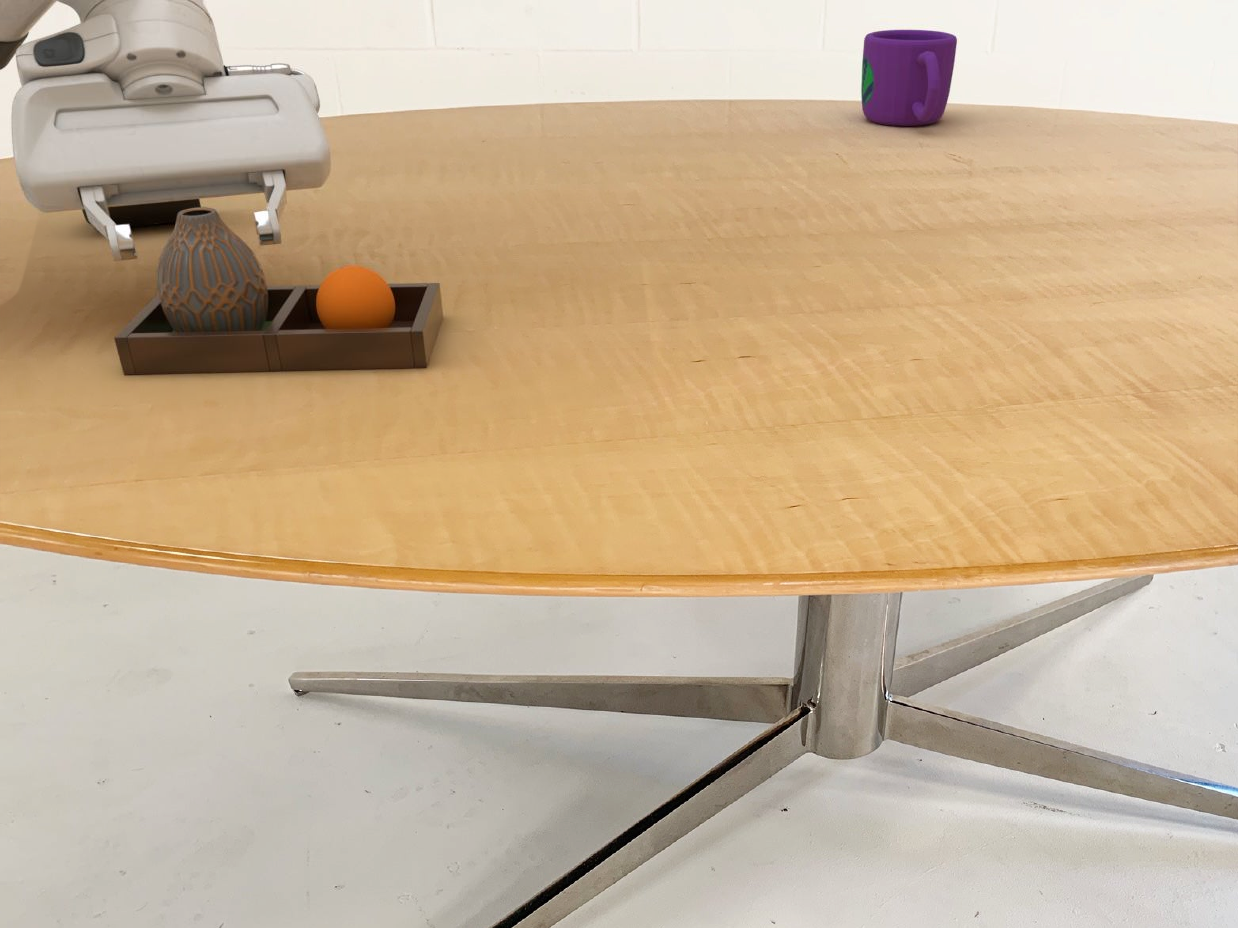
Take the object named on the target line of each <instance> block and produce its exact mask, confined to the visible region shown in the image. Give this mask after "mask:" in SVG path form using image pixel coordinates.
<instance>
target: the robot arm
mask: <svg viewBox="0 0 1238 928" xmlns="http://www.w3.org/2000/svg"><path fill="white" fill-rule="evenodd" d="M56 2H58V3H60V4H64V5H66V6H68V7H70V8H71V9H73V11H74V12H76V14H77V16H78V17H79V22H80V23H78V24H76V25H73V26H71V27H69V28H66V29H64V30H61V31H58V32H55V33H52V34H49V35H46V36H43V37H41V38H36V39H34V40H31V41H28V42H25V41H26V39H27V38H28V36H29V33H30V31H31V30H32V29H33V28H34V27H35V26H36V24H38V22H40V21H41V19H42V18H43V17H44V16H45V15H46V14H47V12H49V10H50V9H51V8H52V7H53V6H54V5H55V4H56ZM24 42H25V43H24ZM14 56H15V61H16V68H17V74H18V78H19V82H20V85H21V87H20V88H19V89H17V91H16V94H15V95H14V97H13V100H12V104H11V117H10V118H11V119H10V120H11V121H10V123H11V125H10V126H11V141H12V142H11V144H12V153H13V161H14V167H15V171H16V172H15V173H16V177H17V179H18V180H17V181H18V183H19V186H20V188H21V191H22V193H23V195H24V198H25V200H26V201H27V203H29V204H30V205H32V206H33V207H34V208H35V209H36V210H38V211H39V212H41V213H43V214H44V213H45V214H48V213H49V214H50V213H51V214H52V213H60V212H70V211H82V209H85V211H86V214H87V217H88V220H89V222H90V223H91V224H92V226H93V228H94V227H95V228H96V229H97V230H96V231H98V232H99V233H100V234H101V235H102V236H103V237H104V238H105V239H106V240H107V241H108V243H109V247H110V251H111V254H112V258H113V261H114V262H120V261H130V260H138V253H137V250H136V245H135V240H134V236H133V233H132V229H131V227H130V225H129V224H124V225H116V224H115V223H114V222H113V220H112V219H111V218H110V215H109V210H108V207H115V206H126V205H137V204H147V203H158V202H169V201H180V200H191V199H199V200H200V199H201V200H203V199H211V198H223V197H232V196H245V195H254V194H255V195H256V194H264V198H265V201H266V203H267V206H266V208H265V210H259V211H253V218H254V227H255V232H256V235H257V240H258V244H259V247H262V246H273V245H282V234H281V227H280V223H279V222H280V219H281V217H282V215H283V212H284V210H285V208H286V206H287V204H288V203H287V202H288V197H287V191H289V192H290V191H298V190H310V189H311V190H312V189H319V188H321V187H323V186H324V185H325V183H326V182H327V180H328V179H329V177H330V175H331V170H332V169H331V168H332V156H331V149H330V145H329V141H328V138H327V137H328V136H327V134H326V131H325V129H324V126H323V123H322V121H321V119H320V116H319V112H320V108H321V100H320V97H319V92H318V89H317V85H316V83H315V81H314V80H313V78H312V77H311V75H310V74H307V73H306V72H304V71H302V70H299V69H296V68H291V66H290V64H289V63H283V62H281V63H280V62H279V63H271V64H267V65H266V64H265V65H254V64H253V65H252V64H244V65H227V66H226V65H225V64H224V60H223V56H222V53H221V49H220V44H219V39H218V35H217V32H216V27H215V24H214V21H213V18H212V16H211V14H210V12H209V11H208V9H207V7H206V6H205V4H204V1H203V0H0V71H1V70H3V69H5V68H6V67H7V66H8V65H9V63H10V62H11V61H12V59H13V58H14ZM91 224H90V225H91ZM95 228H94V229H95Z"/></svg>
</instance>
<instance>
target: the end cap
mask: <svg viewBox="0 0 1238 928" xmlns="http://www.w3.org/2000/svg"><path fill="white" fill-rule="evenodd" d="M198 207H202V205H201V200H200V199H191V200H180V201H169V202H158V203H147V204H137V205H126V206H115V207H108V210H109V215H110V218H111V219H112V220H113V222H114V223H115V224H116V225H124V224H129V225H130V228H131V227H140V226H152V225H163V224H173V223H176V219H177V215H178V213H179V212H180V211H182V210H185V209H190V208H198ZM81 211H82V214H83V217H84V220H85V222H86V223H87V224H88V225H90V226H91V225H92V224H91V223H90V222H89V220H88V217H87V214H86V211H85V209H82V210H81ZM92 226H93V225H92ZM93 228H94V230H95V231H98V230H97V229H96V228H95V227H94V226H93Z"/></svg>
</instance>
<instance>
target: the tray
mask: <svg viewBox="0 0 1238 928" xmlns="http://www.w3.org/2000/svg"><path fill="white" fill-rule="evenodd" d="M387 284H388V286H389V287H390V289H391V291H392V293H393V296H394V301H395V314H394V319H393V322H392V324H391V326H390V328H359V329H325V327H324V326H323V325H322V323H321V321H320V319H319V316H318V313H317V307H316V298H317V293H318V290H319V287H320V285H321V284H313V285H311V284H309V285H308V284H307V285H270V286H268V285H267V291H268V311H267V317H266V321H265V324H264V326H263V328H262V330H261V331H220V332H175V330H174V329H173V328H172V326H171V325H170V323H169V322H168V320H167V318H166V316H165V314H164V312H163V309H162V306H161V303H160V299H159V295H158V293H157V294H156V295H155V296H154V297H153V298H152V299H151V300H150V301H149V302H148V303H147V304H146V305H145V306H144V307H143V308H142V309H141V310H140V311H139V312H138V313H137V314H136V315H135V316H134V317H133V318H132V320H130V321H129V322H128V323H127V324H126V325H125V326H124V328H122V329H121V330H120V331H119V333H117V334H116V335H115V336H114V343H115V347H116V350H117V355H118V358H119V362H120V365H121V369H122V373H123V375H124V376H125V377H126V376H162V375H164V376H167V375H168V376H169V375H206V374H207V375H208V374H209V375H210V374H247V373H249V374H250V373H252V374H253V373H289V372H290V373H292V372H294V373H295V372H298V373H299V372H334V371H335V372H337V371H338V372H340V371H373V370H374V371H376V370H377V371H378V370H381V371H382V370H383V371H384V370H415V369H416V370H420V369H421V370H422V369H423V370H424V369H425V370H426V369H428V366H429V363H430V360H431V357H432V354H433V350H434V347H435V344H436V341H437V338H438V335H439V333H440V328H441V326H442V322H443V320H444V311H443V302H442V292H441V283H440V282H412V283H411V282H410V283H409V282H408V283H405V282H404V283H387Z"/></svg>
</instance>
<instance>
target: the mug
mask: <svg viewBox="0 0 1238 928" xmlns="http://www.w3.org/2000/svg"><path fill="white" fill-rule="evenodd" d="M957 43H958V39H957V36H956V35H954V34H952V33H949V32H945V31H938V30H927V29H887V30H877V31H873V32H870V33H867V34H866V35H865V36H864V39H863V50H862V63H861V88H860V93H861V94H860V95H861V107H862V108H861V109H862V113H863V115H864V116H865V118H866V119H867V120H868V121H870V122H872V123H875V124H879V125H883V126H884V125H885V126H891V127H921V126H928V125H931V124H934V123H936V122H938V121H939V120H941V119H942V117H943V116H944V114H945V111H946V109H947V108H946V107H947V104H948V100H949V96H950V93H951V86H952V81H953V74H954V68H955V61H956V53H957V46H958V45H957Z"/></svg>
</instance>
